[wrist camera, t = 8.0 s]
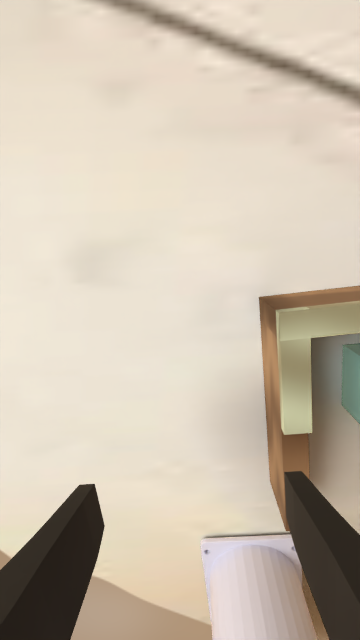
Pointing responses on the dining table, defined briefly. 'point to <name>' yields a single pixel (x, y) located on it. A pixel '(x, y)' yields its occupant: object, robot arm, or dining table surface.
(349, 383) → the teal cube
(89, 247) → the dining table surface
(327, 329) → the corner arena
